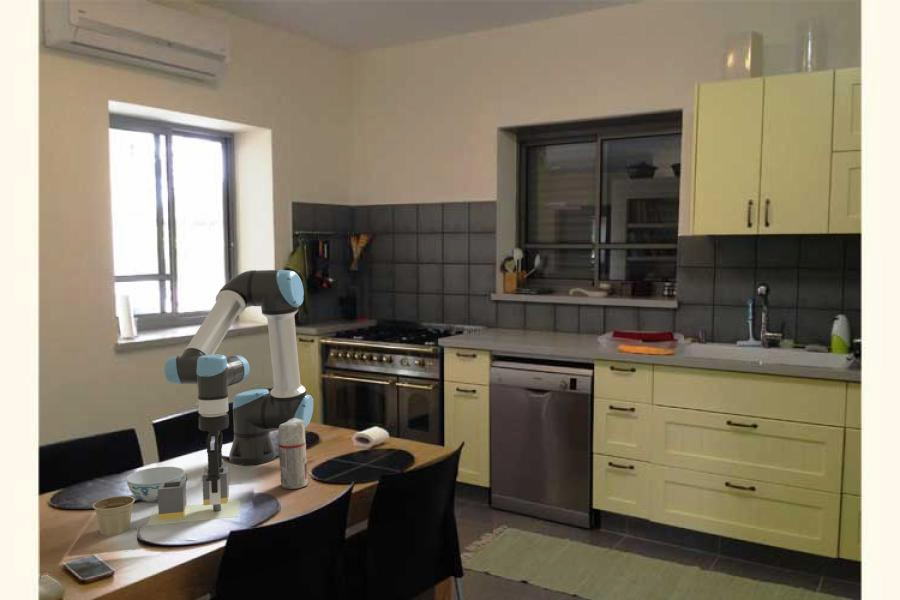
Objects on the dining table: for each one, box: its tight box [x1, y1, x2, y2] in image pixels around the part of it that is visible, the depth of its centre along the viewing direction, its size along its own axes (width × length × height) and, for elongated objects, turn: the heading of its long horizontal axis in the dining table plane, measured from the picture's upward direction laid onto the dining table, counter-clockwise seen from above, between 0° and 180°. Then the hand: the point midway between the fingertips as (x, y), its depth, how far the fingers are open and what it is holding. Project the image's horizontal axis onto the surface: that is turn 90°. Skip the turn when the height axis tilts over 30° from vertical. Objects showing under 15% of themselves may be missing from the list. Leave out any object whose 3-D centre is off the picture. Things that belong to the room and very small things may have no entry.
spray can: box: [277, 418, 309, 490], centre depth 207 cm, size 8×8×20 cm
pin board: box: [146, 500, 241, 527], centre depth 183 cm, size 12×22×6 cm, turn 104°
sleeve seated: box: [157, 479, 188, 520], centre depth 181 cm, size 6×6×8 cm
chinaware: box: [125, 466, 185, 503], centre depth 195 cm, size 15×15×8 cm
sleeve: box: [202, 466, 230, 506], centre depth 184 cm, size 6×6×8 cm
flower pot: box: [92, 495, 136, 537], centre depth 171 cm, size 9×9×9 cm
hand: (216, 499), depth 184 cm, fingers closed on sleeve, 6 cm apart
